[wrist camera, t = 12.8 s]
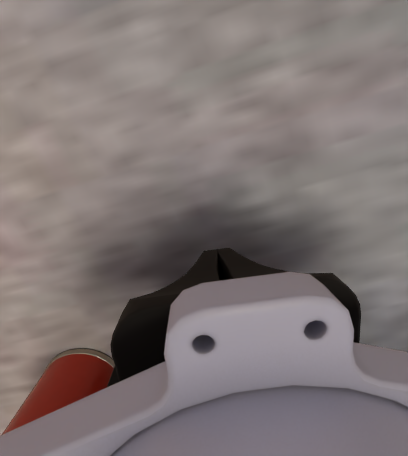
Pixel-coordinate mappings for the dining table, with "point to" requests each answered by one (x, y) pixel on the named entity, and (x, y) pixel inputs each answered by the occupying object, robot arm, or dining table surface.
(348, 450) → the robot arm
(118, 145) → the dining table surface
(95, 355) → the can
